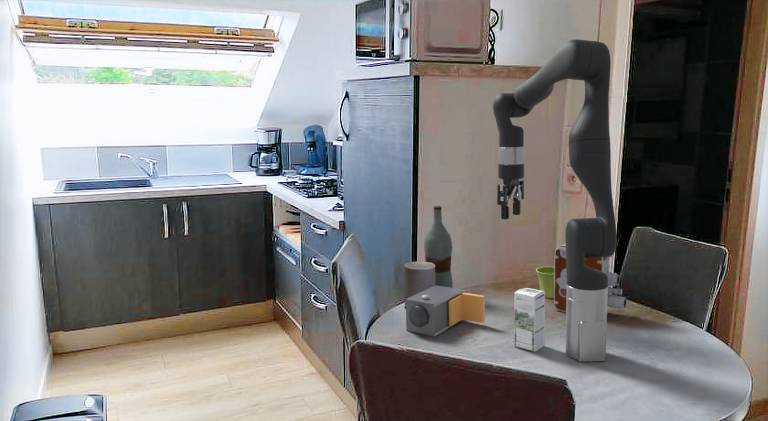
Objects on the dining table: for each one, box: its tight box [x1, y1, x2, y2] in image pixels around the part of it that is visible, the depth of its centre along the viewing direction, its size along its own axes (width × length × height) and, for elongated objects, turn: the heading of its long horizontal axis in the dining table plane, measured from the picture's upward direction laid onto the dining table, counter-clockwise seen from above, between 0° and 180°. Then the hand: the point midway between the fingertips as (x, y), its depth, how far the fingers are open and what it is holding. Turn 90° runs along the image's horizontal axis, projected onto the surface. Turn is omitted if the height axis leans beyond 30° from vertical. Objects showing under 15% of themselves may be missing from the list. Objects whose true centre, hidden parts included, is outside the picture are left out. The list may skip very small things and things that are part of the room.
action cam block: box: [405, 285, 464, 338], centre depth 159 cm, size 17×9×10 cm, turn 145°
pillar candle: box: [403, 260, 435, 310], centre depth 175 cm, size 10×10×15 cm
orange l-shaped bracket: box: [449, 292, 486, 327], centre depth 157 cm, size 8×7×8 cm
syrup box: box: [513, 287, 546, 353], centre depth 142 cm, size 6×6×14 cm
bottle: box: [423, 205, 454, 288], centre depth 186 cm, size 9×9×30 cm
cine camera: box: [553, 243, 628, 313], centre depth 165 cm, size 9×19×20 cm, turn 53°
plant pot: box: [535, 266, 554, 299], centre depth 184 cm, size 9×9×9 cm
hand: (510, 217), depth 169 cm, fingers open, 8 cm apart
